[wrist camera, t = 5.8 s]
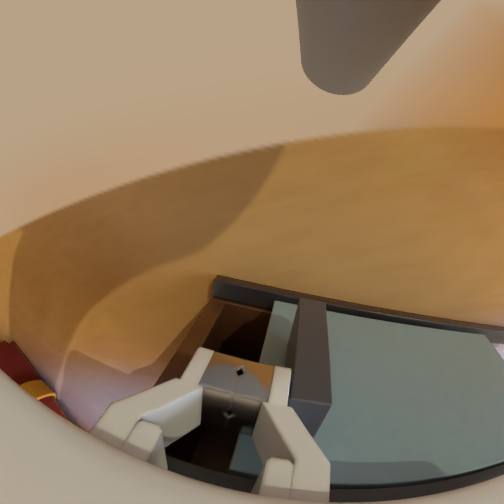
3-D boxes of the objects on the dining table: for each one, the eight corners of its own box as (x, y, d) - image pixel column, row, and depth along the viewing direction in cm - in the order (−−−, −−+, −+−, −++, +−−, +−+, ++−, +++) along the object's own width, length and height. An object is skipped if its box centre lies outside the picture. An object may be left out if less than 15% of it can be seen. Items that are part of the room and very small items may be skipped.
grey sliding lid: (282, 261, 16) (238, 427, 6) (498, 304, 14) (580, 405, 4) (272, 308, 17) (226, 476, 7) (481, 341, 15) (545, 448, 5)
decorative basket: (2, 299, 29) (-70, 332, 15) (128, 456, 27) (65, 524, 13) (7, 381, 42) (-33, 406, 28) (88, 475, 40) (52, 510, 26)
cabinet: (217, 274, 18) (96, 439, 6) (510, 327, 15) (584, 431, 3) (206, 398, 22) (149, 524, 10) (446, 425, 19) (472, 527, 7)
